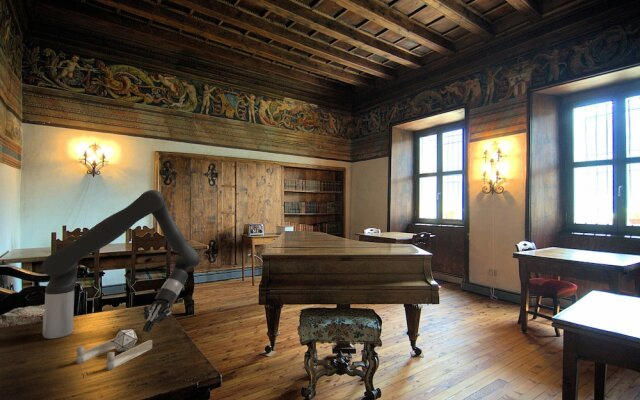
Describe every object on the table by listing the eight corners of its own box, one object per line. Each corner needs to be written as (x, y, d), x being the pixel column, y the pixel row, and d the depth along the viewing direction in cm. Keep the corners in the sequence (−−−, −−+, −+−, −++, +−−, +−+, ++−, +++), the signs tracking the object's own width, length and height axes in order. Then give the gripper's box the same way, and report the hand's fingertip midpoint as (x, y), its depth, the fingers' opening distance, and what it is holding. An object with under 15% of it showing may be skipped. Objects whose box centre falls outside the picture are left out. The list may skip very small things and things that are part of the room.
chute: (74, 363, 108) (75, 348, 108) (121, 342, 125) (121, 329, 125) (109, 370, 104) (110, 354, 104) (153, 348, 120) (153, 334, 121)
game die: (126, 363, 116) (122, 348, 111) (107, 352, 118) (103, 336, 112) (146, 343, 124) (143, 327, 118) (128, 333, 125) (125, 317, 120)
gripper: (152, 286, 138) (126, 325, 126) (177, 288, 134) (153, 329, 122) (161, 295, 143) (137, 333, 131) (186, 298, 139) (164, 338, 127)
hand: (145, 331), depth 126 cm, fingers closed
